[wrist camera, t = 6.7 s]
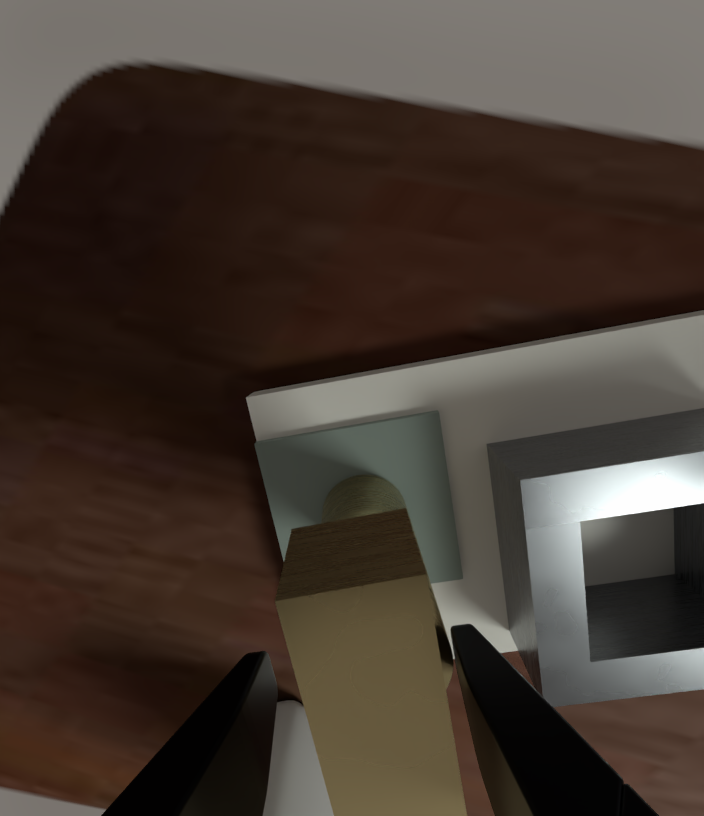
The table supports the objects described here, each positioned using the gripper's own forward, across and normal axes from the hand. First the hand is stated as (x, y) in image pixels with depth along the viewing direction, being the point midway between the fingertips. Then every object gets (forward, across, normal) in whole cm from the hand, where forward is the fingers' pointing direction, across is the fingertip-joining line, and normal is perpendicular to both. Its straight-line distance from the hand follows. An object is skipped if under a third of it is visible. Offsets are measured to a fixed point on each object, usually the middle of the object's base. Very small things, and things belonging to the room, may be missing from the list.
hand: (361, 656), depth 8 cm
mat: (+6, 0, 0) cm, 6 cm away
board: (+7, -5, +1) cm, 9 cm away
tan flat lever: (+6, 0, 0) cm, 6 cm away
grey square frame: (+6, -8, +2) cm, 10 cm away
